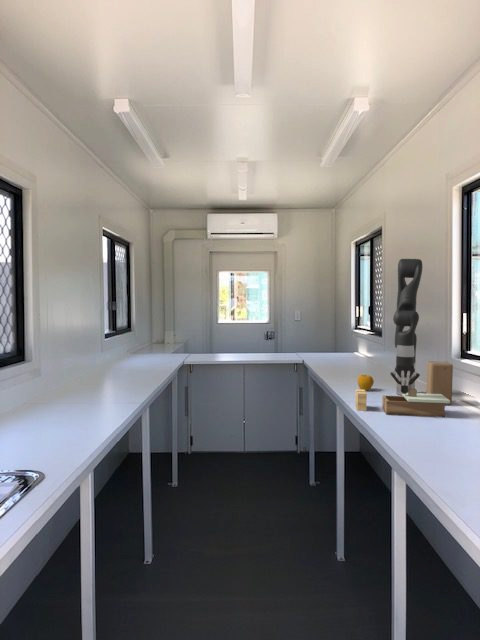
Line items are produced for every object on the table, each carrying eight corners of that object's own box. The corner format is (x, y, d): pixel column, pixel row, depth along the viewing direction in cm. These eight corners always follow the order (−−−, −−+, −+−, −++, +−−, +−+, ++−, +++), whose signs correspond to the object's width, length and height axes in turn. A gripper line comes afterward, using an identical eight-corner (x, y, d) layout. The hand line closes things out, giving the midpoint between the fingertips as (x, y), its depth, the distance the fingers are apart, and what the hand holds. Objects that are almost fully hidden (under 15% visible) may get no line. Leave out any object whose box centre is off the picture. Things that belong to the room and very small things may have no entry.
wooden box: (382, 408, 208) (382, 395, 208) (436, 410, 205) (437, 397, 204) (386, 414, 197) (386, 401, 196) (444, 417, 193) (444, 403, 193)
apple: (375, 390, 250) (376, 374, 249) (369, 392, 243) (369, 376, 243) (361, 388, 255) (362, 372, 255) (354, 390, 249) (354, 374, 249)
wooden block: (452, 405, 214) (453, 364, 213) (429, 404, 216) (430, 363, 215) (446, 401, 224) (448, 361, 223) (425, 400, 226) (426, 360, 225)
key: (355, 406, 213) (355, 389, 212) (364, 406, 212) (364, 389, 212) (357, 410, 204) (357, 393, 203) (366, 411, 203) (366, 393, 203)
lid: (402, 395, 207) (402, 386, 207) (441, 396, 205) (441, 387, 204) (408, 401, 194) (408, 392, 194) (449, 403, 192) (450, 393, 192)
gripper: (418, 354, 203) (417, 392, 204) (388, 353, 205) (387, 391, 206) (422, 356, 195) (421, 396, 196) (391, 355, 198) (390, 394, 198)
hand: (404, 393), depth 201 cm, fingers closed
